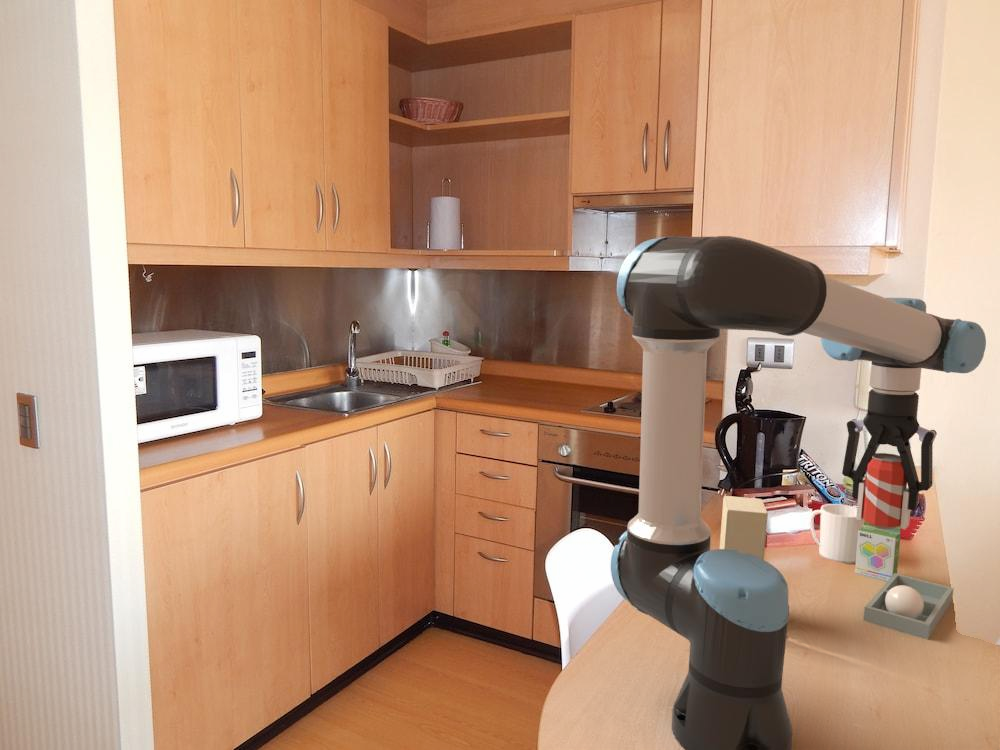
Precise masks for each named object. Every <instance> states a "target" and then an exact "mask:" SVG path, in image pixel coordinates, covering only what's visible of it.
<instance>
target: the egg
mask: <svg viewBox="0 0 1000 750" xmlns="http://www.w3.org/2000/svg"><path fill="white" fill-rule="evenodd" d="M885 605H886V608H887V610H888V612H891V613H895V614H898V615H902V616H905V617H909V618H912V619H917V618H918V617H919V616H920V615H921V614H922V612H923V609H924V602H923V599H922V597H921V595H920V594H919V593H918V592H917V591H916V590H915V589H913V588H912V587H909V586H905V585H899V586H895V587H893V588H891V589H890V590H889V591H888V592H887V594H886V597H885Z"/></svg>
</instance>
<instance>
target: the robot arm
mask: <svg viewBox="0 0 1000 750" xmlns="http://www.w3.org/2000/svg"><path fill="white" fill-rule="evenodd" d="M616 295H617V299H618V302H619V304H620V306H621V307H622V308H623V309H624V310H623V311H624V312H625V313H626V315H628V316H629V317H630V318H632V337H631V338H633V339H634V340H635V341H636V342H637V343H638V344H639V345H640V347H641V348H642V374H641V376H642V377H641V380H642V382H641V408H640V409H641V415H640V419H641V420H640V447H639V449H640V451H639V482H638V483H639V487H638V489H639V490H638V513H637V514H636V515H635V516H634V517H633V518H631V519H630V520H629V521H628V523H627V530H625V531H624V532H623V533H622V534H621V535H620V537H619V538H618V541H619V543H618V544H615V545H614V547H613V549H612V554H611V558H610V575H611V579H612V582H613V584H614V586H615V589H616V591H617V592H618V593H619V594H620V596H621V597H622V598H623V599H624V600H625V601H627V602H628V603H629V604H630V605H631V606H632V607H634V608H635V609H636V610H637V611H638V612H640V613H642V614H644V615H647V616H649V617H650V618H653V619H654V620H656V621H657V622H659V624H660V623H661V624H662V625H664V626H665V627H667V628H668V629H670V630H672V631H673V632H675V633H676V634H678V635H680V636H681V637H683V638H685V639H686V640H688V642H689V644H690V645H689V658H688V672H687V674H686V676H685V679H684V681H683V683H682V685H681V688H680V689H679V693H678V694H677V696H676V699H675V701H674V704H673V706H672V710H671V711H672V712H671V731H672V733H673V735H674V738H675V739H676V740H677V742H678V743H679V745H681V747H683V748H684V749H685V750H792V744H793V743H792V742H793V727H792V723H791V720H790V717H789V715H790V714H789V711H788V708H787V705H786V700H785V698H784V692H783V688H782V685H783V684H782V683H783V675H784V663H785V654H786V644H787V632H788V625H789V624H788V623H789V619H790V605H789V587H788V582H787V581H786V579H785V577H784V575H783V574H782V573H781V571H780V570H778V569H777V568H776V566H774V565H773V564H772V563H770V562H768V561H766V560H765V559H764V560H763V559H761V558H759V557H757V556H754V555H751V554H748V553H745V554H742V553H739V552H738V551H736V550H728V549H719V548H717V549H711V537H712V536H711V533H712V532H711V530H712V529H711V528H710V526H709V525H708V524H707V523H706V522H705V521H704V520H703V519H702V518H701V508H702V507H701V506H702V505H701V504H702V487H703V485H702V484H703V482H702V481H703V460H704V459H703V457H704V437H705V436H704V434H705V415H706V413H705V411H706V409H705V408H706V390H707V388H706V386H707V384H706V383H707V366H708V365H707V364H708V363H707V362H708V351H709V349H710V347H712V346H713V345H714V344H715V343H716V342H717V341H719V340H720V331H721V330H732V331H737V330H739V331H755V332H756V331H758V332H767V333H768V332H769V333H774V334H777V335H782V336H785V337H794V336H797V335H801V334H803V333H804V334H808V335H811V336H813V337H817V338H820V342H821V346H822V349H823V350H824V351H825V353H826V354H827V355H828V356H829V357H830V358H832V359H833V360H837V361H846V362H847V361H848V362H854V361H867V362H871V365H870V375H869V376H870V377H869V386H870V387H871V388H872V389H870V390H869V392H868V400H867V401H868V402H867V410H866V411H867V412H866V415H865V416H864V418H863V419H855V418H853V419H851V420H849V421H847V422H846V429H847V432H848V436H847V437H848V438H847V442H846V448H845V453H844V455H845V456H844V460H843V467H842V472H841V473H842V475H843V476H844V477H847V478H849V479H851V480H852V491H851V492H852V494H851V496H852V499H854V500H857V506H856V507H857V516H856V519H858V520H861V519H863V518H862V513H863V501H864V490H865V477H866V467H867V464H868V463H869V461H870V459H871V457H872V455H874V454H875V453H877V450H878V449H879V446H880V445H889V446H892V447H895V448H896V449H897V452H898V453H899V456H900V458H901V462H902V465H903V469H904V473H905V476H906V480H907V487H906V490H904V492H903V503H902V514H901V525H900V530H901V529H902V530H906V529H907V528H908V527H909V526H910V519H911V517H910V516H911V511H915V510H916V509H917V508H918V506H919V497H920V496H919V495H920V492H921V491H928V490H929V489H931V488H932V486H933V461H934V460H933V451H934V450H933V448H934V447H933V446H934V445H933V444H934V441H935V439H936V436H937V431H936V430H935V429H927V428H924V427H922V426H920V424H919V421H918V409H919V399H920V398H919V397H920V396H919V394H918V393H917V391H919V390H920V388H921V387H920V386H921V378H922V376H921V375H922V369H925V370H930V371H931V370H932V371H938V372H944V373H948V374H949V373H955V374H968V373H971V372H973V371H974V370H976V369H977V368H978V367H979V366H980V364H981V362H982V361H983V359H984V356H985V352H986V347H987V340H986V339H987V337H986V334H985V331H984V329H983V328H982V326H981V325H980V324H978V323H977V322H975V321H968V320H962V319H961V318H956V319H951V318H943V317H940V316H937V315H935V314H932V313H927V304H926V302H925V301H924V300H923V299H920V298H909V297H908V298H907V297H883V296H880V295H878V294H875V293H873V292H869V291H866V290H864V289H862V288H858V287H856V286H853V285H851V284H848V283H844V282H842V281H839V280H836V279H833V278H831V277H828V276H826V275H825V273H824V271H823V270H822V268H820V267H819V266H818V265H817V264H815V263H813V262H811V261H808V260H806V259H803V258H800V257H799V256H798V257H797V256H795V255H793V254H789V252H788V253H787V252H784V251H783V250H780V249H778V248H774V247H771V246H768V245H765V244H762V243H760V242H757V241H754V240H751V239H748V238H747V239H746V238H742V237H737V236H731V235H718V236H717V235H716V236H676V235H675V236H674V235H670V236H663V237H655V238H652V239H648V240H646V241H643V242H641V243H639V244H638V245H637V246H636V247H634V248H633V250H632V251H631V252H630V253H629V254H628V255H627V256H626V257H625V259H624V260H623V262H622V264H621V266H620V268H619V272H618V275H617V281H616ZM864 427H865V428H866V430H867V431H868V433H869V435H870V440H869V441H868V444H867V446H866V449H865V451H864V453H863V455H862V457H861V459H860V462H859V464H858V465H857V467H856V470H855V465H856V459H857V454H858V453H857V452H858V447H859V441H860V435H861V432H863V428H864ZM915 434H917V435H918V440H919V442H921V445H920V480H919V477H918V473H917V472H918V471H917V469H916V465H915V462H914V457H913V454H912V453H913V452H912V450H911V448H912V447H911V443H910V440H911V438H913V436H915Z"/></svg>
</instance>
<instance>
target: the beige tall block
mask: <svg viewBox="0 0 1000 750" xmlns="http://www.w3.org/2000/svg"><path fill="white" fill-rule="evenodd" d="M767 510H768V509H767V508H766V506H765V503H764V501H763V499H762V498H755V497H744V496H743V497H742V496H730V495H724V496H723V499H722V511H721V512H722V514H721V521H720V522H721V523H720V524H721V525H720V536H719V537H720V538H719V548H718V549H728V550H736V551H738V552H739V553H742V554H745V553H748V554H751V555H754V556H757V557H759V558H761V559H763V560H765V548H766V539H767V538H766V537H767V527H768V511H767Z"/></svg>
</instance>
